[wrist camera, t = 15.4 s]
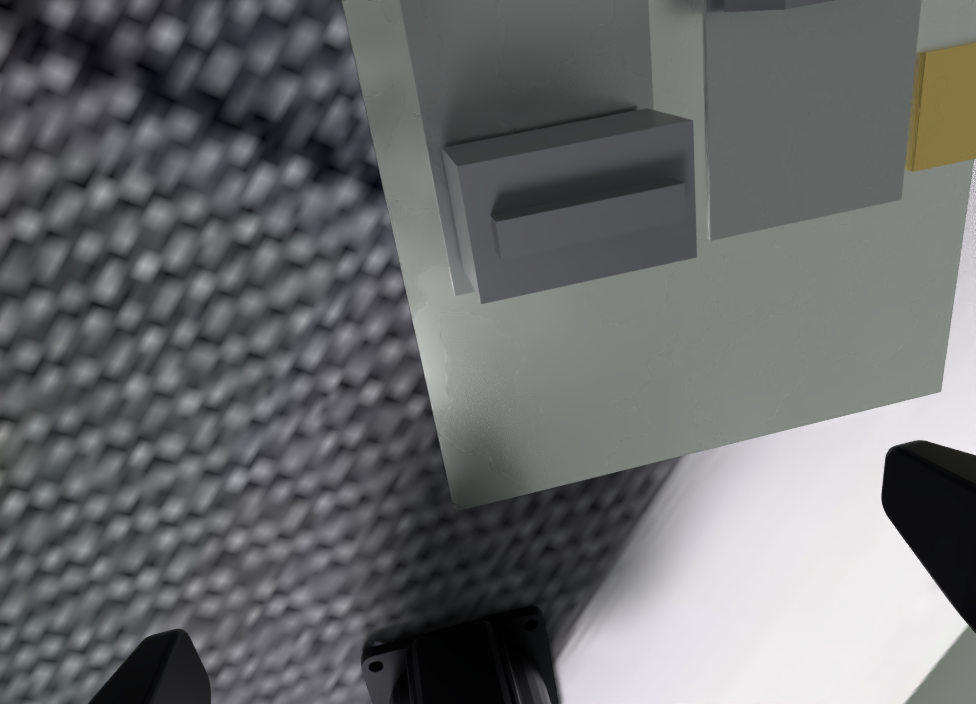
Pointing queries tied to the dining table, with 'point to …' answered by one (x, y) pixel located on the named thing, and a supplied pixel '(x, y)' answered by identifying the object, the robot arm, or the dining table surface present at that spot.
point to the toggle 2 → (767, 4)
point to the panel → (719, 221)
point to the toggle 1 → (573, 202)
